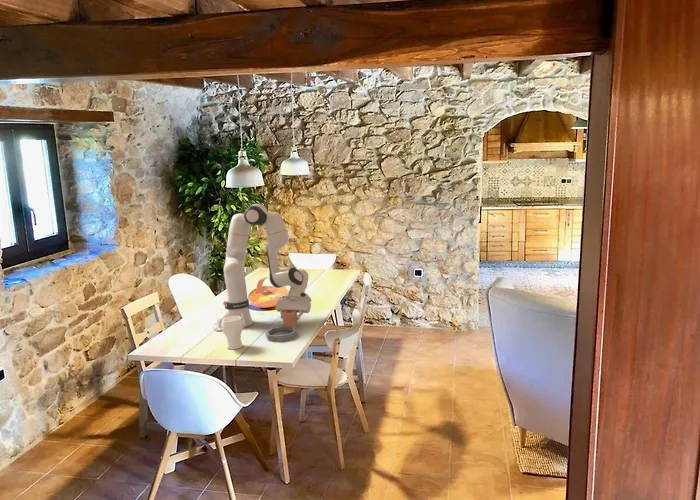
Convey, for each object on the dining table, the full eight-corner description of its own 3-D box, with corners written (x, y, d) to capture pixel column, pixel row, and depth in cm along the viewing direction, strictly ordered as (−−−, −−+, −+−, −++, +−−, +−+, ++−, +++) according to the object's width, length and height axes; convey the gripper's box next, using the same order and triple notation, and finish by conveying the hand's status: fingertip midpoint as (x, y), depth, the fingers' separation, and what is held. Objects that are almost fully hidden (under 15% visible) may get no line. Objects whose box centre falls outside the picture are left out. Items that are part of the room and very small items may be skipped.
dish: (270, 343, 295) (269, 338, 295) (264, 334, 309) (264, 329, 309) (299, 338, 300) (298, 333, 299) (292, 329, 314) (291, 324, 313)
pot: (293, 329, 315) (292, 313, 314) (283, 328, 317) (282, 312, 316) (298, 325, 321) (296, 310, 319) (288, 325, 323) (287, 309, 321)
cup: (226, 352, 287) (223, 323, 285) (222, 345, 297) (218, 317, 294) (247, 347, 291) (244, 319, 289) (242, 341, 301) (239, 314, 298)
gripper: (277, 293, 326) (270, 315, 319) (310, 294, 319) (304, 316, 312) (281, 298, 331) (275, 320, 324) (314, 299, 324) (308, 322, 317)
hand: (289, 318), depth 318 cm, fingers open, 8 cm apart
